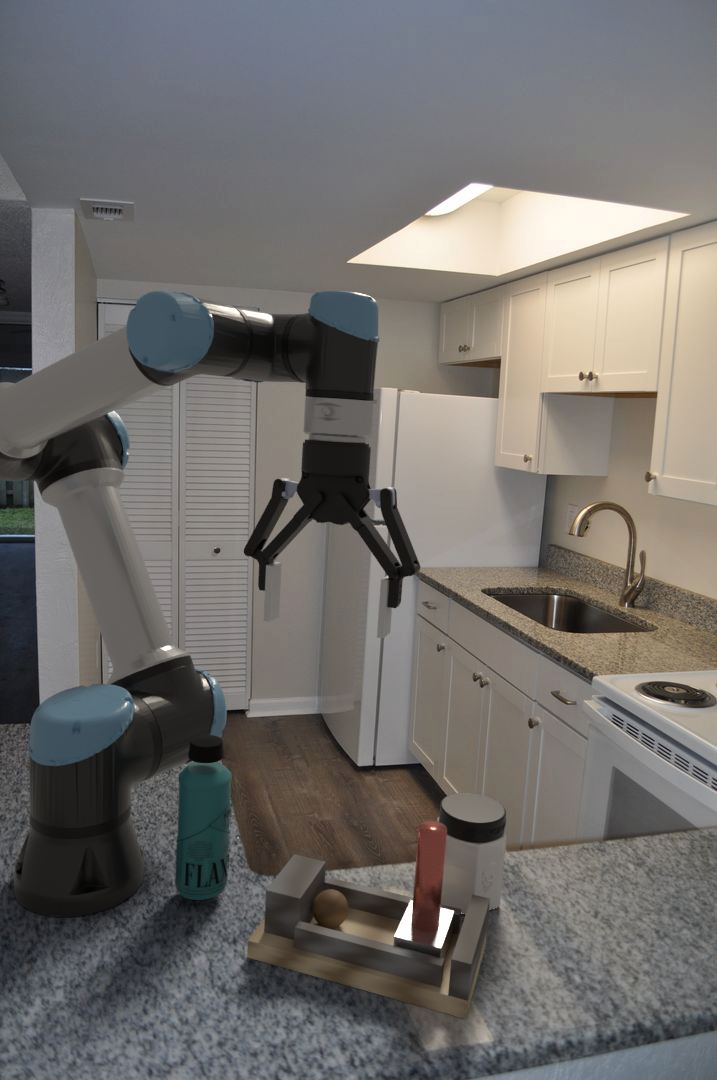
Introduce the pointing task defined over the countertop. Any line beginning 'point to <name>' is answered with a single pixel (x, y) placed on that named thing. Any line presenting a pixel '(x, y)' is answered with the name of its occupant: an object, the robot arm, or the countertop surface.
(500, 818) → the jar
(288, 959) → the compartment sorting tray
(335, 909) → the nut
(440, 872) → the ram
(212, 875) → the beverage bottle
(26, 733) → the countertop surface
